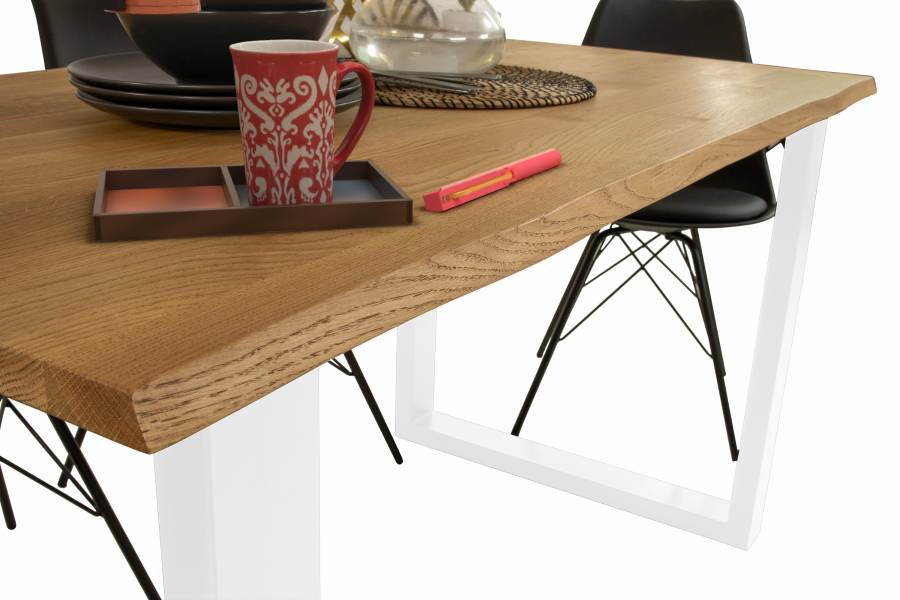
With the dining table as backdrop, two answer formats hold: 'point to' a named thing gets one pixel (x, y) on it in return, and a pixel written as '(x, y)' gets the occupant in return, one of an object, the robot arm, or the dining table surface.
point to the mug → (294, 118)
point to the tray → (236, 203)
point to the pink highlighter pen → (490, 181)
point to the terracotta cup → (160, 7)
